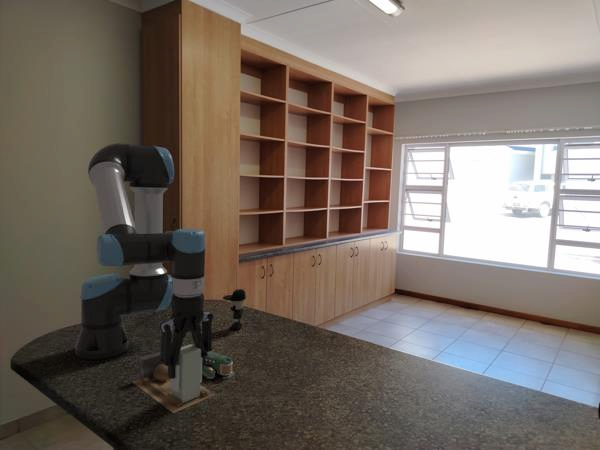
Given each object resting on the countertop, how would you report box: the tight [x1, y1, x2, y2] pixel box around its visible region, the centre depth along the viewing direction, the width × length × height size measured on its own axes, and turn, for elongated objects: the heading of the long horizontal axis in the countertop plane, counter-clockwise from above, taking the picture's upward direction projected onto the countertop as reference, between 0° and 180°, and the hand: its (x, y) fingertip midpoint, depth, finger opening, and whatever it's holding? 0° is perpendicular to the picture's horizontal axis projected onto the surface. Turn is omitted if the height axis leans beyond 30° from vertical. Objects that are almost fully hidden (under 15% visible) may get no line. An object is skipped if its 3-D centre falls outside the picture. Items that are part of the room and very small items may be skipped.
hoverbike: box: [202, 350, 235, 380], centre depth 117 cm, size 10×25×8 cm, turn 65°
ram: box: [172, 343, 201, 403], centre depth 100 cm, size 5×5×12 cm
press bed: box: [132, 351, 217, 414], centre depth 104 cm, size 20×12×7 cm, turn 48°
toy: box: [222, 288, 247, 331], centre depth 151 cm, size 8×8×15 cm
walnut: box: [153, 364, 169, 381], centre depth 108 cm, size 4×4×4 cm
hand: (186, 384), depth 100 cm, fingers open, 6 cm apart
